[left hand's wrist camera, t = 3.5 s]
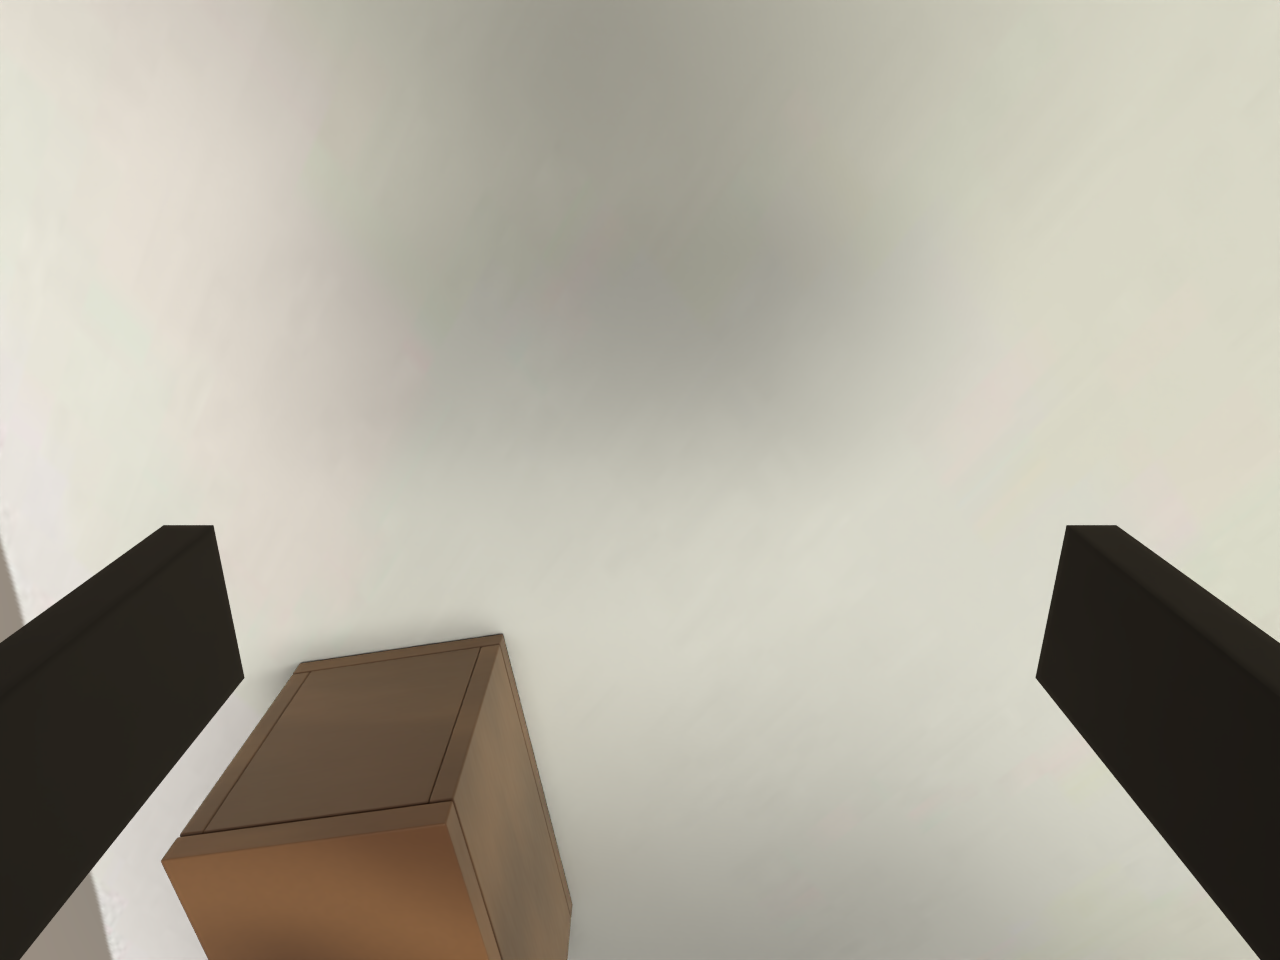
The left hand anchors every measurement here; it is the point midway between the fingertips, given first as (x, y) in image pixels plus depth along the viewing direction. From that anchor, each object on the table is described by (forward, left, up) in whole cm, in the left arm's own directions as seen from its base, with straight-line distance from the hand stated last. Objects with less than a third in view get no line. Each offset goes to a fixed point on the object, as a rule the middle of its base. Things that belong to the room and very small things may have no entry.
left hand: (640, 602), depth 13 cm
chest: (+21, -9, -19) cm, 30 cm away
